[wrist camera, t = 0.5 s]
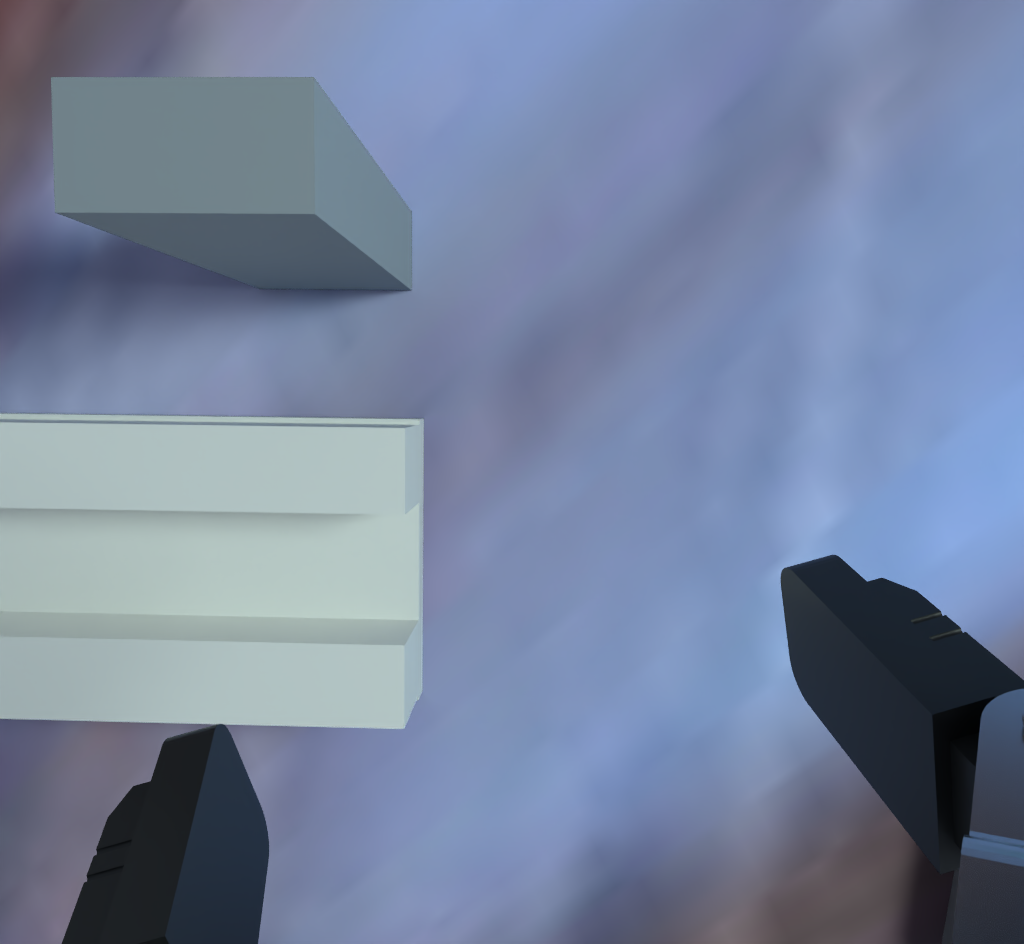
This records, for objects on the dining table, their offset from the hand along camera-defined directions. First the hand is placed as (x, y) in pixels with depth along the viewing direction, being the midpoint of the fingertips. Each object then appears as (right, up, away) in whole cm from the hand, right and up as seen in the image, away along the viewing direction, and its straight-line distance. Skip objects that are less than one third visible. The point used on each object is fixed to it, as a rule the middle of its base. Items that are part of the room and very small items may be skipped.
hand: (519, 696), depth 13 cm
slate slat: (-7, +12, +23) cm, 27 cm away
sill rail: (-13, 0, +24) cm, 27 cm away
